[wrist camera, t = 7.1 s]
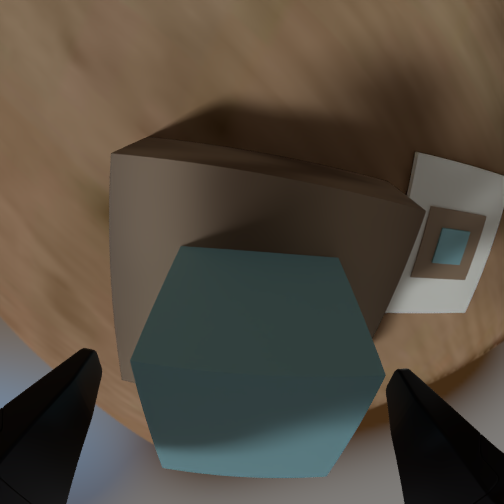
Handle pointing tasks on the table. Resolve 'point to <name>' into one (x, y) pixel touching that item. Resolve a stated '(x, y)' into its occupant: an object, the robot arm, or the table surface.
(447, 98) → the table surface
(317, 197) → the walnut block
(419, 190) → the card
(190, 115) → the table surface
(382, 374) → the teal cube
